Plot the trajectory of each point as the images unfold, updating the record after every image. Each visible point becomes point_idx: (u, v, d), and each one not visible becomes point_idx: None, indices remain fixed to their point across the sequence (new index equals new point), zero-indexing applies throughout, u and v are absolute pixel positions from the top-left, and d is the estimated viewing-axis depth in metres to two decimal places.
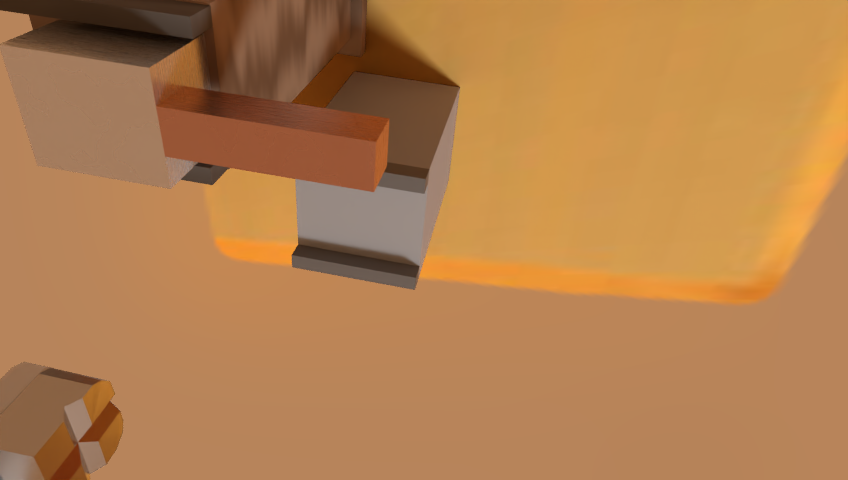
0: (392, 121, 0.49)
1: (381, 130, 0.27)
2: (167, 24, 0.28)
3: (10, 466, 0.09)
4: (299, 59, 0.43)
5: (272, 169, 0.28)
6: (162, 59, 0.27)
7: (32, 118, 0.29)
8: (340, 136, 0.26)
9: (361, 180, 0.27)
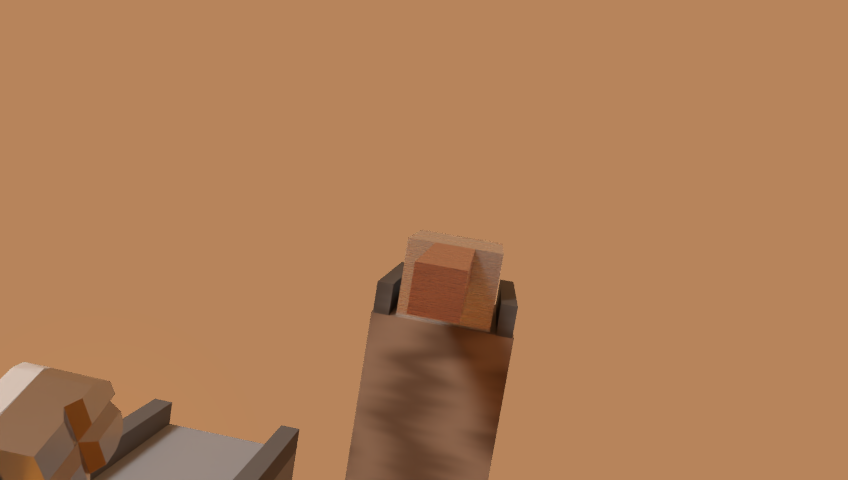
0: None
1: (464, 295, 0.28)
2: (508, 301, 0.39)
3: (10, 466, 0.09)
4: None
5: (431, 251, 0.33)
6: None
7: (455, 236, 0.45)
8: (469, 266, 0.30)
9: (426, 261, 0.29)
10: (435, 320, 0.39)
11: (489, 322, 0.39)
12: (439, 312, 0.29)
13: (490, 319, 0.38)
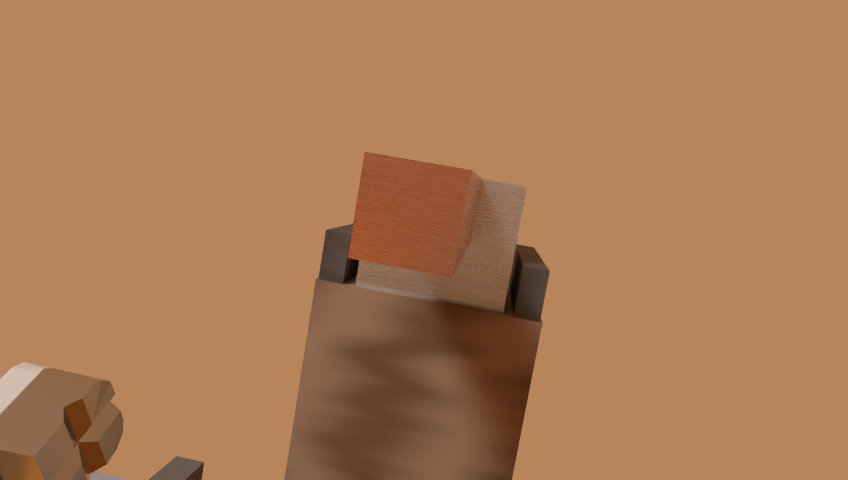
0: None
1: (462, 220, 0.14)
2: (534, 265, 0.25)
3: (10, 466, 0.09)
4: None
5: None
6: (521, 215, 0.24)
7: None
8: None
9: None
10: (417, 293, 0.25)
11: (503, 296, 0.24)
12: (413, 255, 0.14)
13: (505, 292, 0.24)
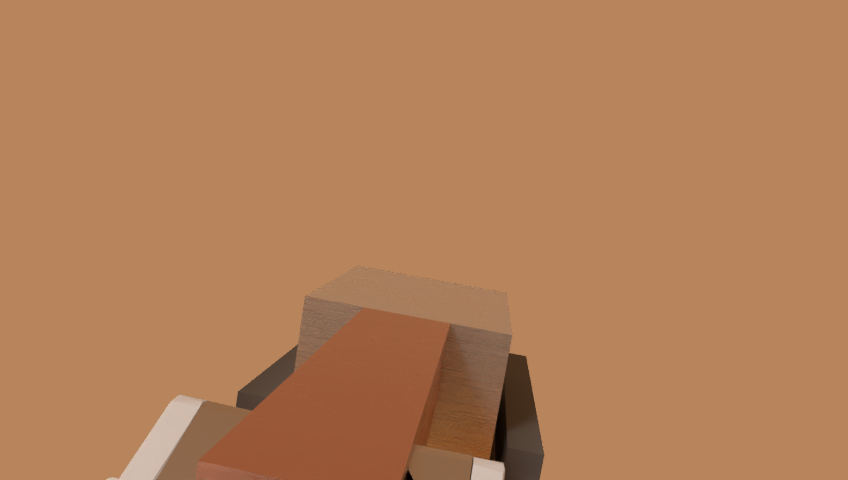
0: None
1: None
2: (523, 434, 0.18)
3: None
4: None
5: (323, 360, 0.12)
6: None
7: (419, 279, 0.24)
8: (411, 449, 0.09)
9: (254, 448, 0.08)
10: None
11: None
12: None
13: None
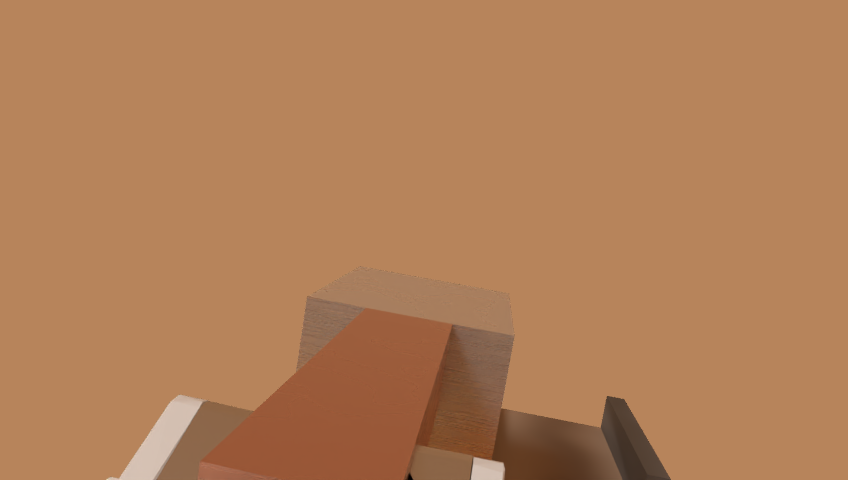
0: None
1: None
2: (652, 464, 0.28)
3: None
4: None
5: (325, 360, 0.12)
6: None
7: (421, 280, 0.24)
8: (413, 450, 0.09)
9: (256, 449, 0.08)
10: None
11: None
12: None
13: None
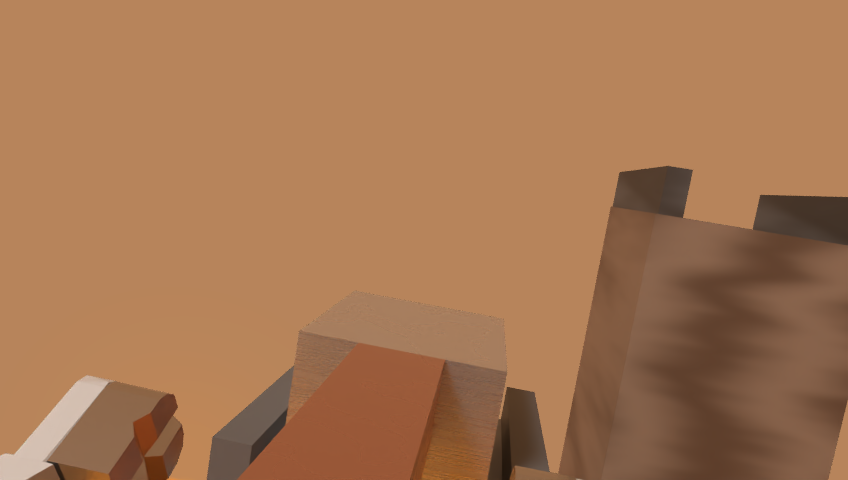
0: None
1: None
2: None
3: None
4: None
5: (313, 410, 0.12)
6: None
7: (416, 305, 0.24)
8: None
9: None
10: None
11: None
12: None
13: None
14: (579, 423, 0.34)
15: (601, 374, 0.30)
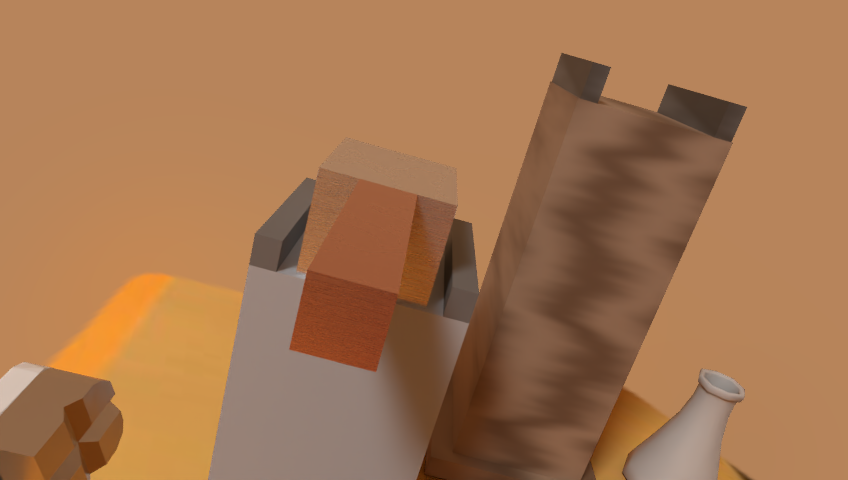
0: None
1: None
2: None
3: (10, 466, 0.09)
4: (548, 296, 0.38)
5: (346, 218, 0.21)
6: None
7: (392, 153, 0.32)
8: (402, 271, 0.18)
9: (329, 266, 0.17)
10: None
11: (427, 296, 0.27)
12: (344, 353, 0.17)
13: (429, 292, 0.27)
14: (502, 250, 0.44)
15: (522, 214, 0.40)
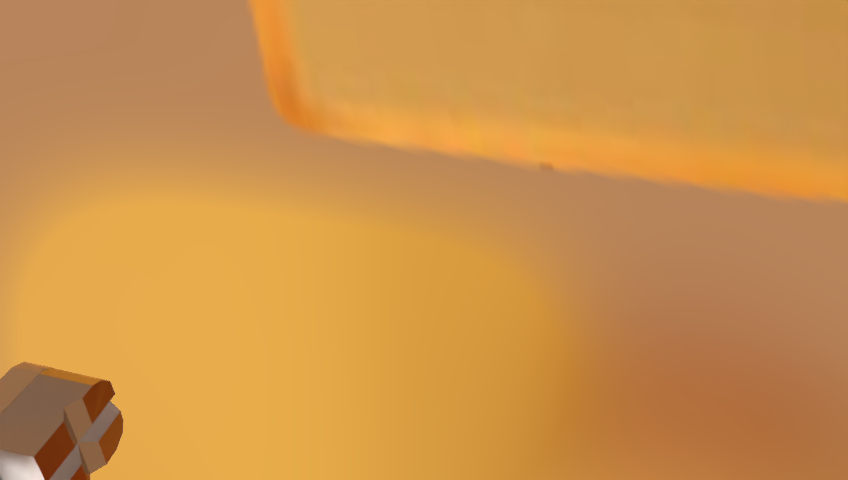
0: None
1: None
2: None
3: (10, 466, 0.09)
4: None
5: None
6: None
7: None
8: None
9: None
10: None
11: None
12: None
13: None
14: None
15: None
